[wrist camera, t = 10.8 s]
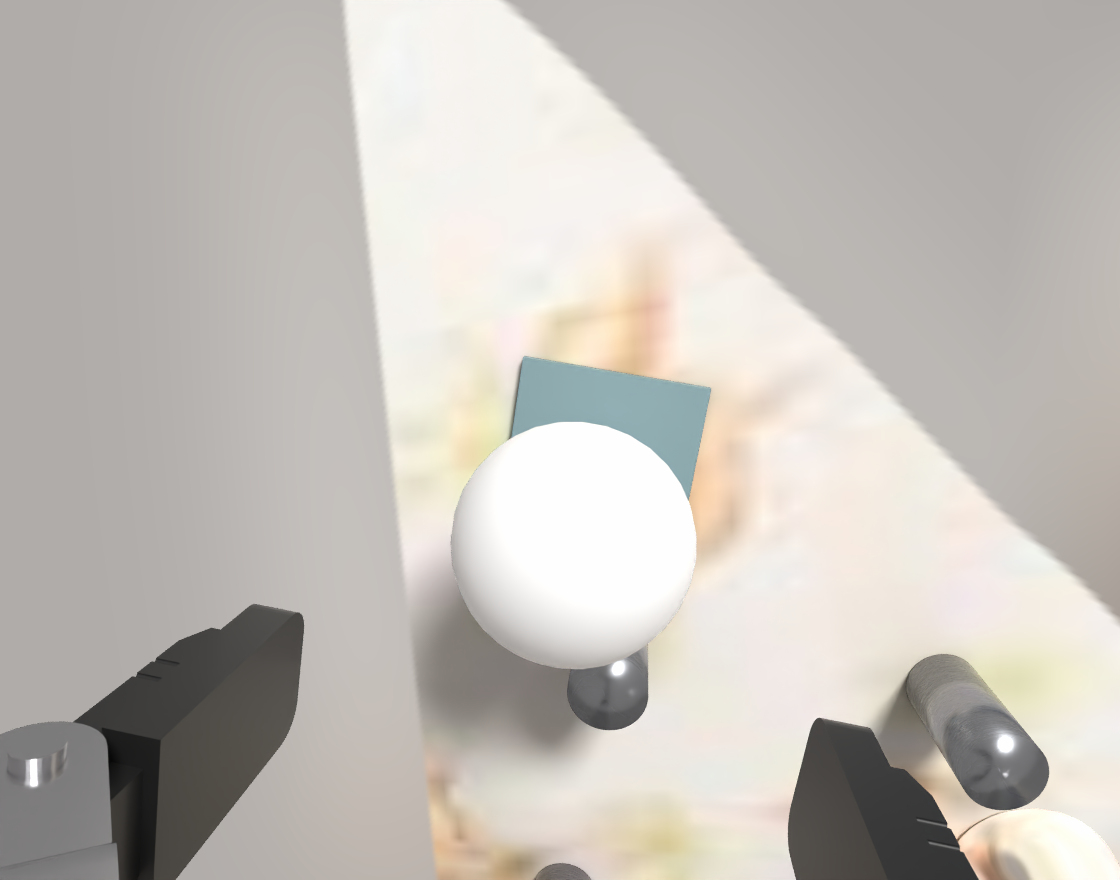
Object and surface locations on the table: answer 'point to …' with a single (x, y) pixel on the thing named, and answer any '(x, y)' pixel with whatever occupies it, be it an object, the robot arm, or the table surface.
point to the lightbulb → (573, 545)
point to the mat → (617, 408)
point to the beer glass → (1037, 848)
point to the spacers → (934, 691)
